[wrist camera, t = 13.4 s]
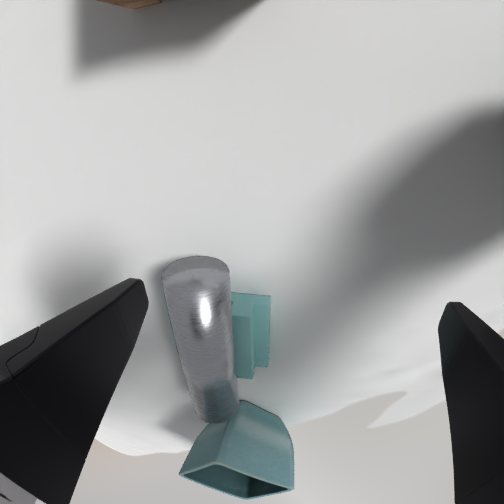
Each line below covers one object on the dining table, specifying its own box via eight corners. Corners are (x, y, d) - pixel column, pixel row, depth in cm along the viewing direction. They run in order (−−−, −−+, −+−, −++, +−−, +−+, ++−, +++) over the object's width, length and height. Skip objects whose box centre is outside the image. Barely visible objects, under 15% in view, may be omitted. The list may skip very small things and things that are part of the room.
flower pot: (198, 411, 34) (176, 475, 27) (236, 382, 30) (214, 462, 22) (259, 438, 36) (246, 500, 28) (304, 415, 31) (296, 489, 24)
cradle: (270, 296, 24) (265, 318, 21) (268, 358, 27) (264, 380, 25) (168, 285, 25) (156, 305, 23) (181, 346, 28) (173, 366, 26)
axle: (232, 256, 20) (224, 295, 17) (241, 388, 27) (237, 425, 24) (171, 255, 21) (153, 292, 17) (197, 385, 28) (190, 421, 24)
